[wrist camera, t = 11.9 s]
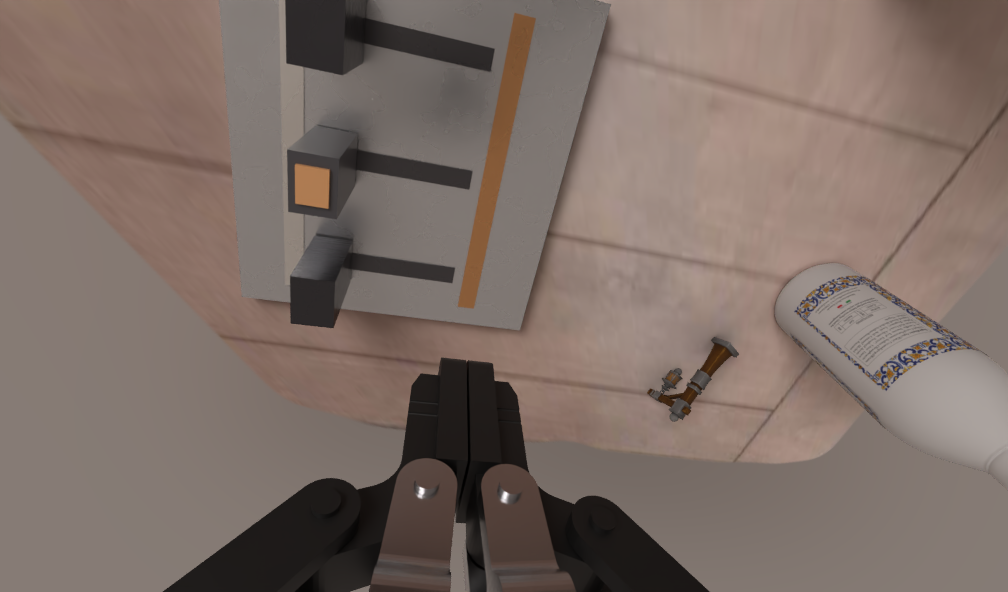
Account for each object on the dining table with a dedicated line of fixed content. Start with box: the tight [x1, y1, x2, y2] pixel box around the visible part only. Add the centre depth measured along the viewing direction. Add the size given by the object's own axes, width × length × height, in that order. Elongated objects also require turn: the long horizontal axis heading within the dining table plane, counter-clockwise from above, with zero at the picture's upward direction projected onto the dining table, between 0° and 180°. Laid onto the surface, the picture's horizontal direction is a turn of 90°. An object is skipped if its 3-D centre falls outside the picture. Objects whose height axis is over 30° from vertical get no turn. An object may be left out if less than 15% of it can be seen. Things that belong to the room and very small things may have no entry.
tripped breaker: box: [287, 126, 358, 219], centre depth 26 cm, size 2×3×6 cm
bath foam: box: [775, 263, 1008, 490], centre depth 31 cm, size 7×7×20 cm
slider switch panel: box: [219, 0, 611, 330], centre depth 27 cm, size 20×22×7 cm
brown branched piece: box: [647, 337, 739, 422], centre depth 41 cm, size 2×8×4 cm, turn 132°
